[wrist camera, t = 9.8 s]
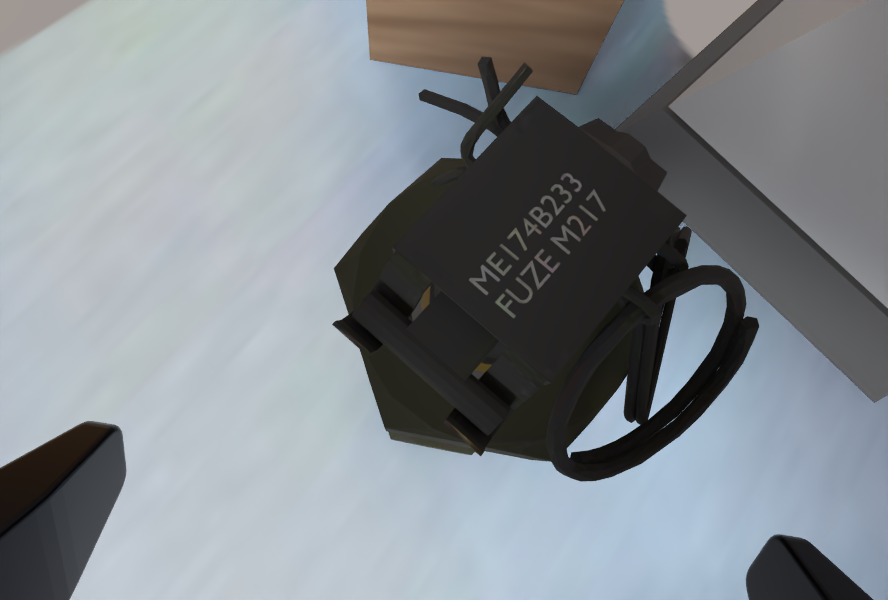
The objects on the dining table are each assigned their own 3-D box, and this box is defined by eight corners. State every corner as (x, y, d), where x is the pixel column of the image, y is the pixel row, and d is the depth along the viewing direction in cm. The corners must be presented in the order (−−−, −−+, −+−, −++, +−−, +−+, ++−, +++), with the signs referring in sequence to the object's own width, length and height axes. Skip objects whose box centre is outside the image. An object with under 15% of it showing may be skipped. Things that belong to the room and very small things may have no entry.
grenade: (459, 246, 21) (591, -177, 7) (591, 358, 21) (1041, 153, 6) (331, 385, 20) (157, 217, 5) (469, 510, 19) (692, 697, 5)
